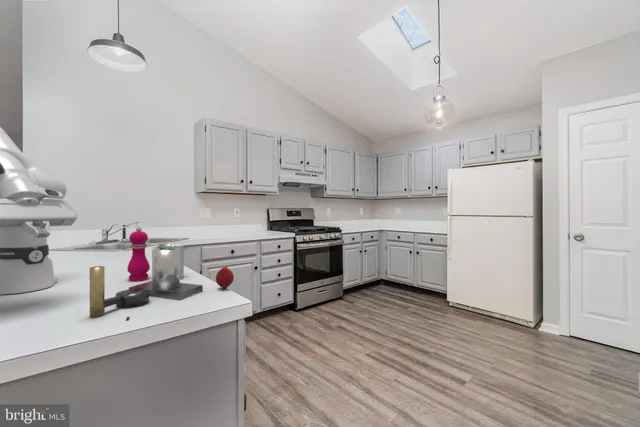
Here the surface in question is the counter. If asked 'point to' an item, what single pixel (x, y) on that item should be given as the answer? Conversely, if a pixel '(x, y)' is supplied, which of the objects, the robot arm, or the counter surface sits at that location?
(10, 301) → the counter surface
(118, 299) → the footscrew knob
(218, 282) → the onion
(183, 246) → the small box
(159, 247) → the instrument stand
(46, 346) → the counter surface
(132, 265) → the pepper mill
